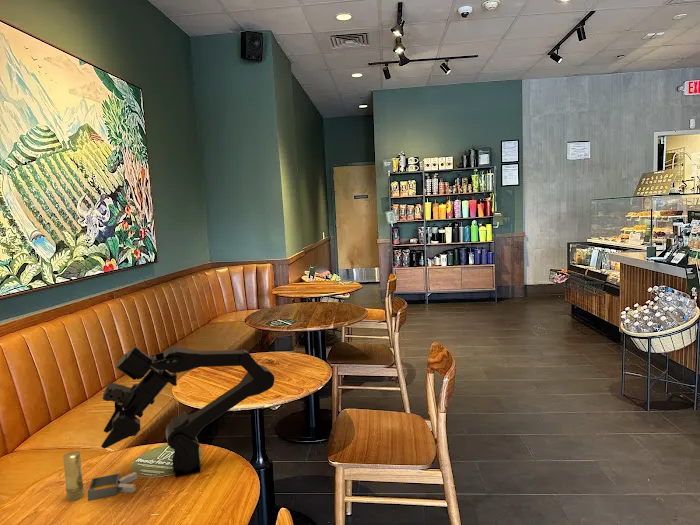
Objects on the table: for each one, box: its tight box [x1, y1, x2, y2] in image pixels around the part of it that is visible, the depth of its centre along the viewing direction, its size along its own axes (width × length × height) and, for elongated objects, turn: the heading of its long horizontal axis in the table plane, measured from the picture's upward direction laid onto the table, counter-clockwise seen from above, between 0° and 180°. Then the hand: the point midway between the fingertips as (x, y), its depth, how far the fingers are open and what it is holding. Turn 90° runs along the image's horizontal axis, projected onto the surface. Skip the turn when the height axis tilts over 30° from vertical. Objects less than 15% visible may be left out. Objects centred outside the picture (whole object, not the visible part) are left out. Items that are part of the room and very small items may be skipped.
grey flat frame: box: [87, 471, 138, 502], centre depth 116 cm, size 11×8×2 cm
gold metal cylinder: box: [62, 450, 85, 502], centre depth 113 cm, size 4×4×11 cm
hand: (103, 439), depth 115 cm, fingers open, 9 cm apart
